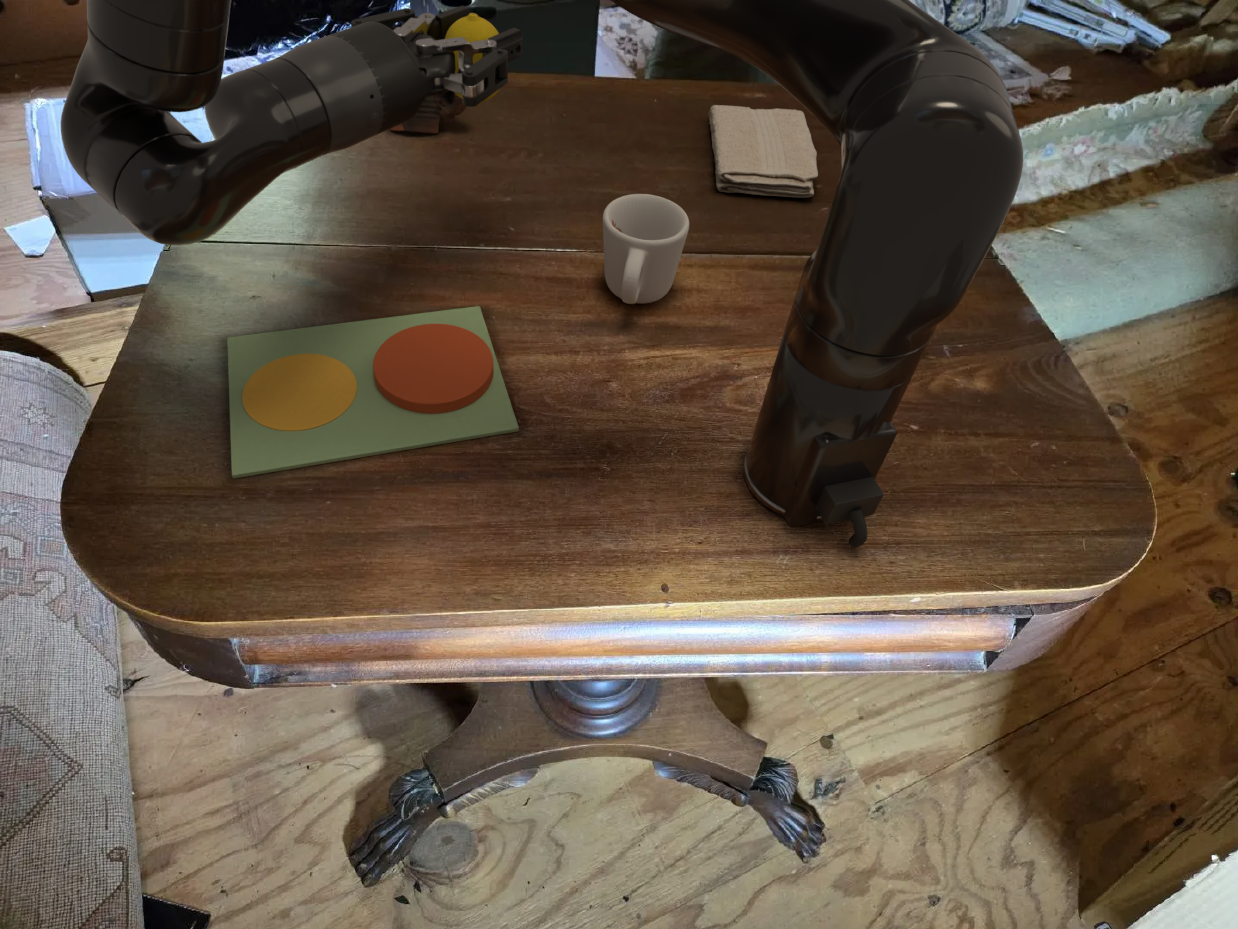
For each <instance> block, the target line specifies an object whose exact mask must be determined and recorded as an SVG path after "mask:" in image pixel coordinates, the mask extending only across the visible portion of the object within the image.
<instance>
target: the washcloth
mask: <svg viewBox="0 0 1238 929" xmlns="http://www.w3.org/2000/svg"><path fill="white" fill-rule="evenodd" d="M707 115H708V119H709V120H708V121H709V123H708V125H710V128H709V130H710V133H711V135H710V136H711V143H712V144H711V148H712V152H713V156H714V163H715V166H714V167H715V172H714V174H715V186H716V189H717V191H718V192H720V193H726V194H735V193H737V194H738V193H739V194H747V195H755V196H766V197H767V196H768V197H783V198H801V199H805V198H812V197H814V195H815V190H814V182H813V181H814V180H815V179H816V178H818V176H819V171H818V166H817V163H818V162H817V155H818V153H817V152H818V151H817V150H816V149H815V145H814V143H813V140H812V134H811V132H810V128H809V127H808V125H807V119H806V116H805V113H804V111H802V110H797V109H791V108H789V109H787V108H778V107H776V108H771V109H770V108H769V109H768V108H766V109H765V108H755V109H754V108H751V107H750V106H739V105H729V104H727V105H724V104H721V105H720V104H713V105H712V106H710V109H709V112H708V113H707Z"/></svg>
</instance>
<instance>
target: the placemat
mask: <svg viewBox="0 0 1238 929" xmlns="http://www.w3.org/2000/svg"><path fill="white" fill-rule="evenodd" d="M490 336H491V335H490V334H489V330H488V328H487V324H486V322H485V318H484V314H483V312H482V309H481V305H476V306H469V307H461V308H460V307H459V308H453V309H452V308H451V309H443V310H436V311H429V312H427V311H426V312H421V313H413V314H405V315H404V314H403V315H396V316H387V317H379V318H372V319H365V320H355V321H348V322H340V323H333V324H325V325H316V326H309V327H308V326H307V327H301V328H291V329H285V330H284V329H283V330H276V331H268V332H261V333H254V334H253V333H252V334H245V335H237V336H229V337H226V338H227V339H226V340H227V344H226V345H227V369H228V370H227V374H228V402H229V404H228V405H229V429H230V431H229V433H230V434H229V435H230V464H231V477H232V479H233V480H234V479H240V478H246V477H251V476H258V475H264V474H269V473H277V472H281V471H288V470H293V469H294V470H295V469H301V468H306V467H313V466H316V465H317V466H318V465H325V464H330V463H335V462H341V461H348V460H355V459H359V458H365V457H373V456H377V455H384V454H390V453H396V452H401V451H409V450H413V449H420V448H421V449H422V448H426V447H432V446H439V445H444V444H449V443H450V444H451V443H457V442H464V441H469V440H475V439H480V438H486V437H493V436H499V435H504V434H510V433H517V432H519V431H520V428H519V424H518V421H517V417H516V415H515V411H514V409H513V405H512V403H511V399H510V396H509V393H508V390H507V387H506V384H505V381H504V380H505V379H504V378H503V374H502V371H501V367H500V365H499V361H498V358H497V355H496V353H495V350H494V346H493V343H492V340H491V337H490Z"/></svg>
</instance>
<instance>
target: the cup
mask: <svg viewBox="0 0 1238 929" xmlns="http://www.w3.org/2000/svg"><path fill="white" fill-rule="evenodd" d="M689 230H690V219H689V216H688V215H687V213H686V211H685V209H683V208H682V207H681V206H680V205H679V204H677V203H676V202H674V201H672V200H670V199H668V198H666V197H662V196H658V195H656V194H655V195H654V194H647V193H632V194H626V195H622V196H619V197H617V198H616V199H613V200H612V201H611V202H609V203H608V204H607V205H606V207H605V208H604V211H603V214H602V240H603V243H602V244H603V272H604V279H605V283H606V285H607V287H608V289H609V290H610V291H611V293H612V294H614V295H615V297H618V298H619V299H621V301H622V302H623V303H626V304H628V305H635V304H651V303H654V302H657V301H659V300H661V299H662V298H664V297H665V296H666V295H667V294H668V293H669V291H670V290H671V288H672V286H673V283H674V280H675V279H676V274H677V271H678V268H679V264H680V261H681V257H682V254H683V250H684V247H685V243H686V240H687V236H688V235H689Z"/></svg>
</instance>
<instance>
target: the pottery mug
mask: <svg viewBox="0 0 1238 929" xmlns="http://www.w3.org/2000/svg"><path fill="white" fill-rule="evenodd" d="M467 107H468V106H465V105H464V104H463V99H462V98H460V97H459V96H457V95H456V94H455V93H454V92H453V91H450V90H449V91H448V92H446V93H444V94H441V95H433V96H429V97H426V98H425V100H424V101H423V103H422V104H421V106H420V108H419V110H418V111H417V113H416V114H415V116H414V117H413V118H411V119H410V120H408V121H406V122H404V123H402V124H399V125H397V126H395V127H393V128H391V129H390V131H391V132H412V133H416V134H417V133H418V134H438V133H439V124H440V120H441V118H442V120H443V121H444V122H445V123H447V124H449V123H451V122H452V121H453V120H454V119H455V117H456V116H460V115H461V114H462V113H463V112H464V111H465V110H466V108H467Z"/></svg>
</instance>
